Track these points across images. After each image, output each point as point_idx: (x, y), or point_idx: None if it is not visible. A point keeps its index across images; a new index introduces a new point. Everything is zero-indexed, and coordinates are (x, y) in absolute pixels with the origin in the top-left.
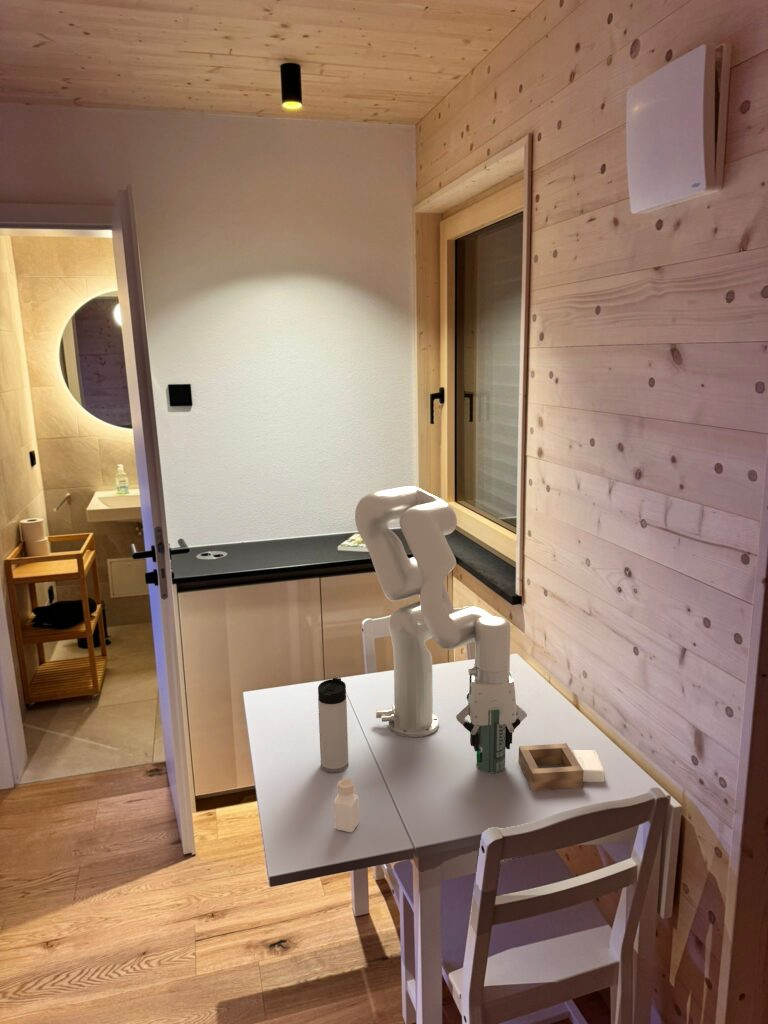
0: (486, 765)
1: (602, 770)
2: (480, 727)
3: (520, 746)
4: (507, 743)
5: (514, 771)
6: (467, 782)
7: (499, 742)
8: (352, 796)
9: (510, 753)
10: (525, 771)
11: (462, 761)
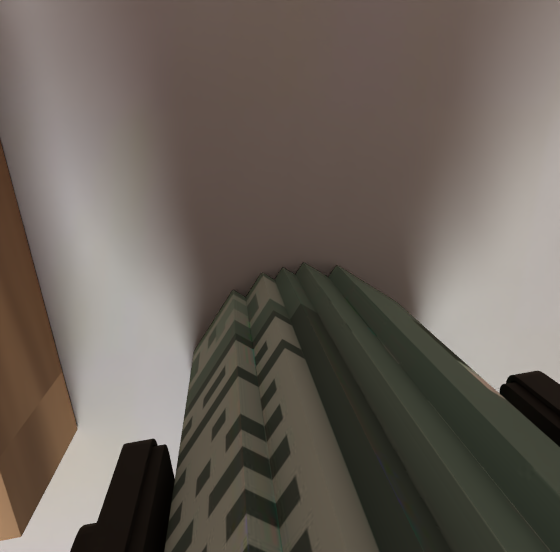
0: (370, 291)
1: None
2: None
3: (2, 534)
4: (144, 491)
5: (118, 300)
6: (522, 125)
7: (275, 439)
8: None
9: None
10: (2, 236)
11: None
